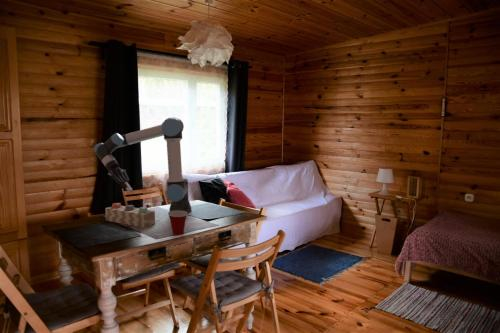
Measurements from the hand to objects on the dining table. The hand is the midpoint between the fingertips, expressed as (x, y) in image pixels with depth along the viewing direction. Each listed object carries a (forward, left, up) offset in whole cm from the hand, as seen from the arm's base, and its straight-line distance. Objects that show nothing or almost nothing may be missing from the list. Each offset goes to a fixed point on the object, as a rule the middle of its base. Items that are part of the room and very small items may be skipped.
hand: (130, 191), depth 231 cm
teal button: (+6, +10, -14) cm, 19 cm away
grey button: (+1, -1, -14) cm, 14 cm away
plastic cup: (+23, +37, -20) cm, 48 cm away
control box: (+1, -1, -19) cm, 19 cm away
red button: (-4, -12, -14) cm, 19 cm away
